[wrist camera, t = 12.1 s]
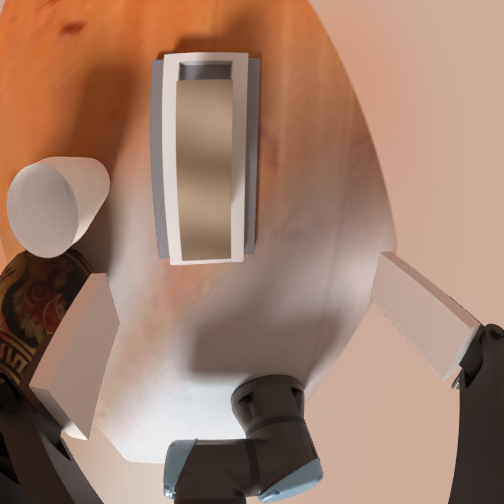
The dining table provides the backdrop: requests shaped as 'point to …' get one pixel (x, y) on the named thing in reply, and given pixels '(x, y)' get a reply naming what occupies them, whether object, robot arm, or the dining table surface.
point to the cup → (55, 202)
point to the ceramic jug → (35, 303)
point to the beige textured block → (204, 167)
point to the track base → (249, 145)
